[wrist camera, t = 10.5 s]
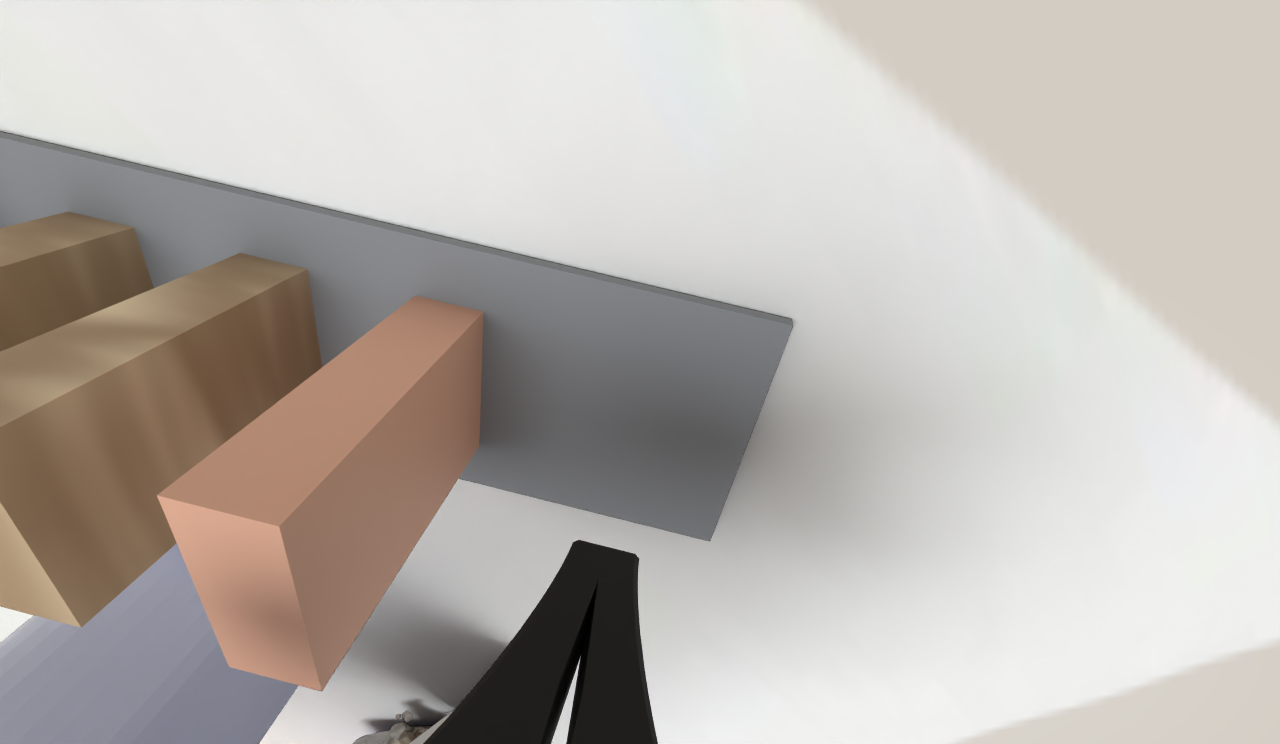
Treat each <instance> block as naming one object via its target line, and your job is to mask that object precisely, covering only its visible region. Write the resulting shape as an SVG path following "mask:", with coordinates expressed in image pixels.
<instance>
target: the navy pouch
mask: <svg viewBox="0 0 1280 744" xmlns="http://www.w3.org/2000/svg"><path fill="white" fill-rule="evenodd" d="M401 716H402V719H405V721H406V722H409V721H410V720H412V719H413V714H412V713H411V712H409V711H408V710H407V711H405V712H404V713H402V715H401V714H398V715H396V717H395V718H396V719H399V718H401ZM429 728H431V727H430V726H426V727H419V726H417V727H410V726H409V725H407V724H404V722H401V723H397V724H395V725H393V726H392V728H391V729H390V731H382V732H376V733H374V734H370V735H365V736H363V737H361V738H359V739H357V740H356V741H355V742H354V743H353V744H409V743H411V742H412V741H413V740H415V739H416V738H417V737H419V736H420V735H421V734H423V733H424V732H425V731H427V730H428V729H429Z"/></svg>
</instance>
